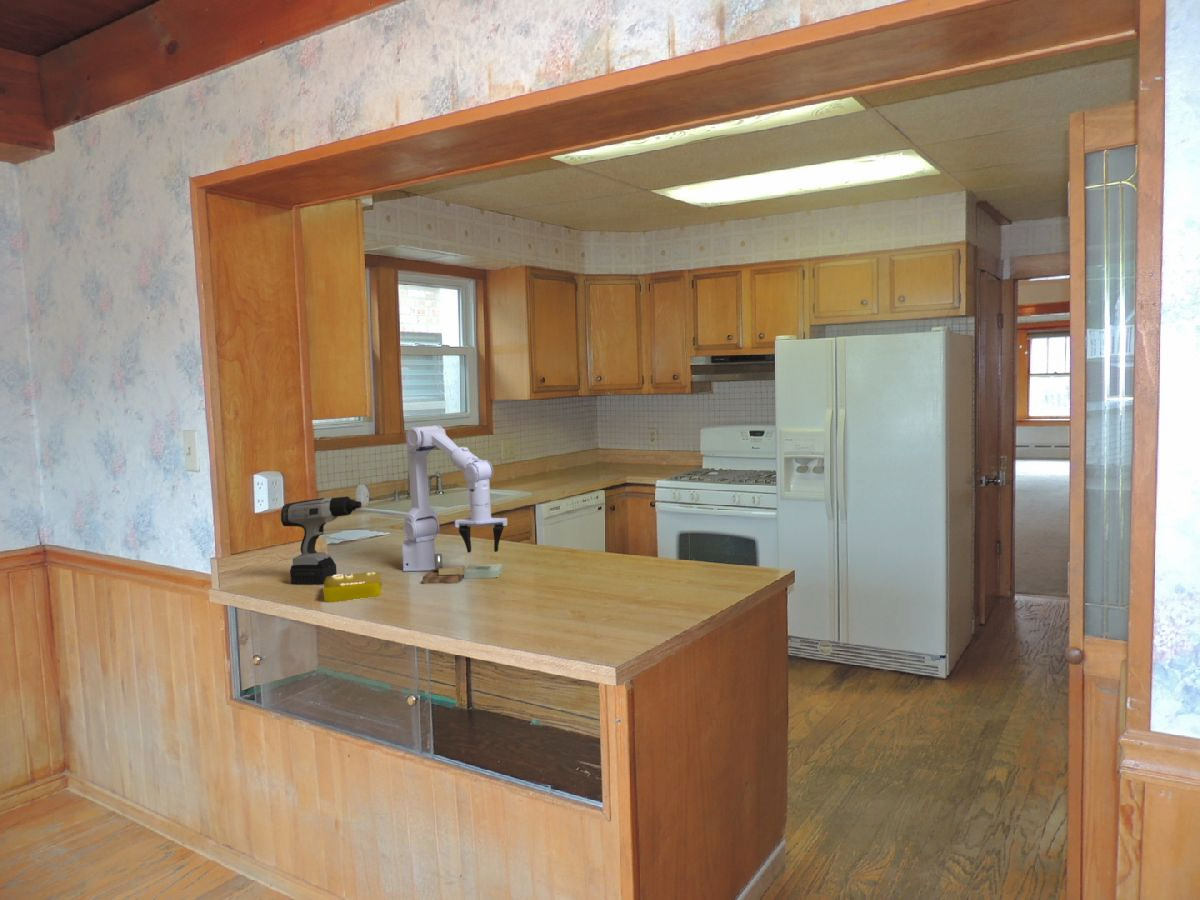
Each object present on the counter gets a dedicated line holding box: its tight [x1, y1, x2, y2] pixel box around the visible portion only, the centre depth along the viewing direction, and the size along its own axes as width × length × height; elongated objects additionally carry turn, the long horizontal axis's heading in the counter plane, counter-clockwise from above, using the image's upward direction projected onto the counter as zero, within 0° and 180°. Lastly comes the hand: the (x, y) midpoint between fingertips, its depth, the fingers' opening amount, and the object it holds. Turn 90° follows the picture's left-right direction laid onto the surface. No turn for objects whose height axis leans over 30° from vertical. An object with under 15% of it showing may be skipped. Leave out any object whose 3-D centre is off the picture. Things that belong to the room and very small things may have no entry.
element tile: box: [322, 571, 383, 604], centre depth 235 cm, size 15×15×5 cm
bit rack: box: [463, 563, 504, 579], centre depth 251 cm, size 10×8×2 cm
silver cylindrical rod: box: [434, 553, 444, 573], centre depth 249 cm, size 2×2×7 cm
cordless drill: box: [280, 496, 362, 585], centre depth 249 cm, size 8×24×25 cm, turn 78°
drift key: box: [439, 565, 466, 575], centre depth 243 cm, size 7×2×2 cm, turn 87°
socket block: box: [422, 569, 464, 584], centre depth 247 cm, size 10×9×2 cm
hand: (482, 551), depth 243 cm, fingers open, 7 cm apart
